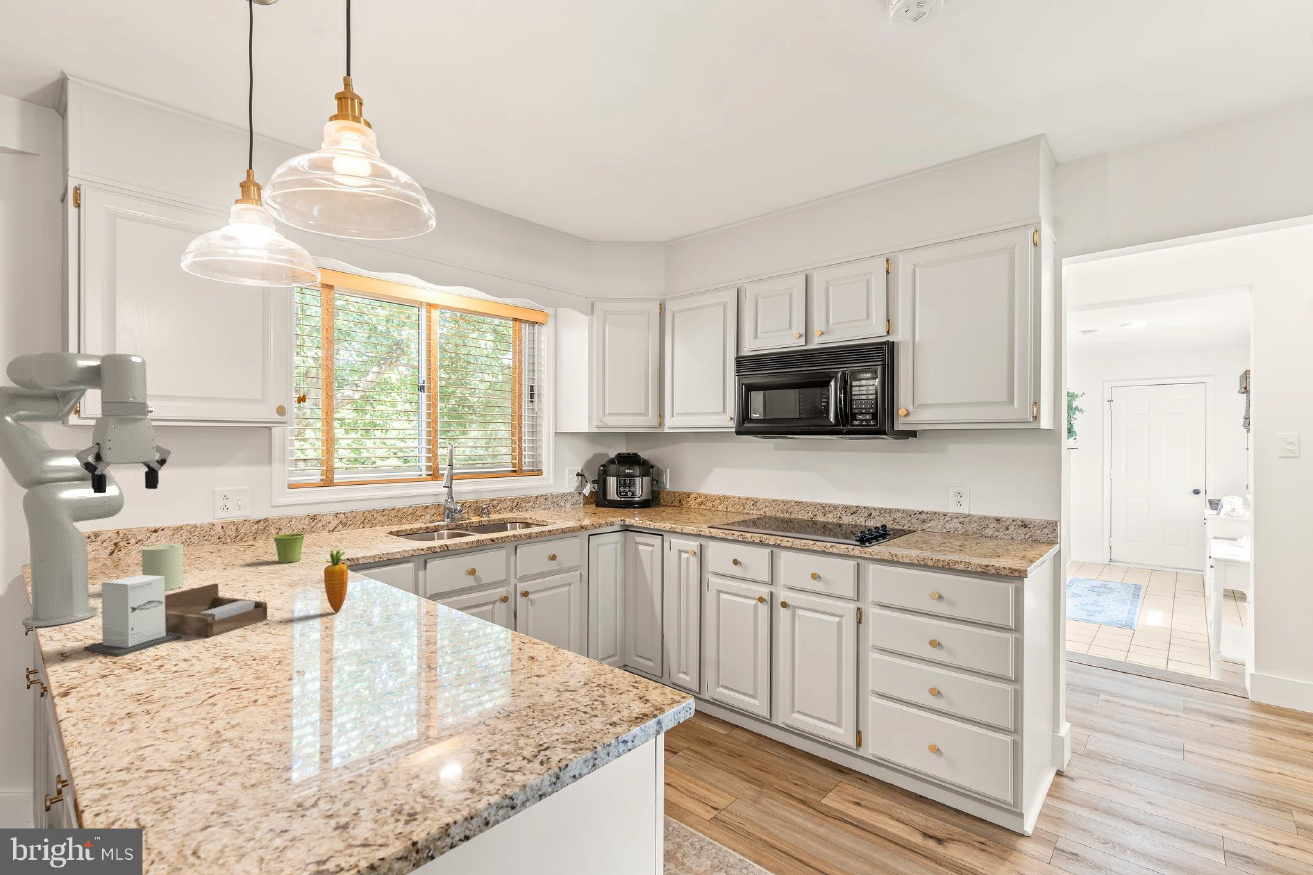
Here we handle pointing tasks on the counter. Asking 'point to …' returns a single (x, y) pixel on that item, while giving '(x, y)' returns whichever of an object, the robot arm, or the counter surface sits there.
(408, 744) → the counter surface
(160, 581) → the supplement box
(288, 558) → the plant pot
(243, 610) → the upper offcut
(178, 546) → the can
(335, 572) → the carrot
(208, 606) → the walnut rack
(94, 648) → the rubber mat
